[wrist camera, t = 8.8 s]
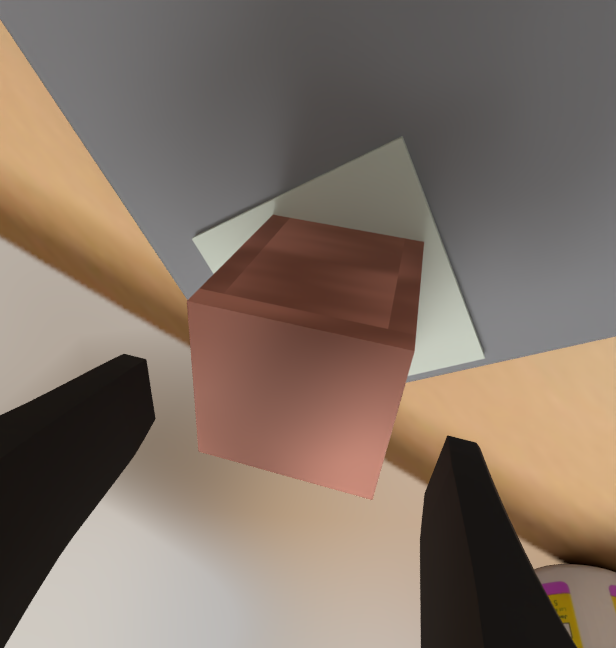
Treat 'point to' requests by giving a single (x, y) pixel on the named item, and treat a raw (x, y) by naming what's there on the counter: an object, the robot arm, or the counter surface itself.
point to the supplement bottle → (583, 602)
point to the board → (363, 143)
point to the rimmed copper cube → (306, 351)
